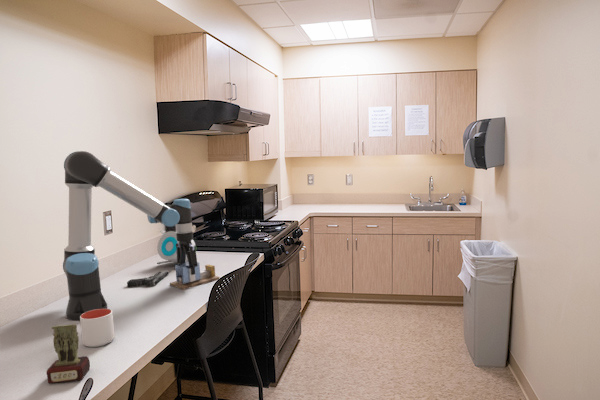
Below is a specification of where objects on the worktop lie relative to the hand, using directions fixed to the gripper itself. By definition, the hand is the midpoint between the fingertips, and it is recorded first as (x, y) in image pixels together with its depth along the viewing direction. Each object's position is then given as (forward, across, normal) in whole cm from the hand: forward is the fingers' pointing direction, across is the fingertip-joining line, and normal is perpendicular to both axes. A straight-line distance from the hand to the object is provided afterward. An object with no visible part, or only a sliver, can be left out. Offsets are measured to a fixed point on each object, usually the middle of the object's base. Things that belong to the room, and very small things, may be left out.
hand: (188, 279), depth 222 cm
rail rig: (+2, 0, -4) cm, 4 cm away
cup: (+2, -34, +56) cm, 66 cm away
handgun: (+3, +22, +9) cm, 23 cm away
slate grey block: (0, 0, 0) cm, 0 cm away
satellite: (+2, +39, -18) cm, 43 cm away
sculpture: (+2, -52, +72) cm, 89 cm away
